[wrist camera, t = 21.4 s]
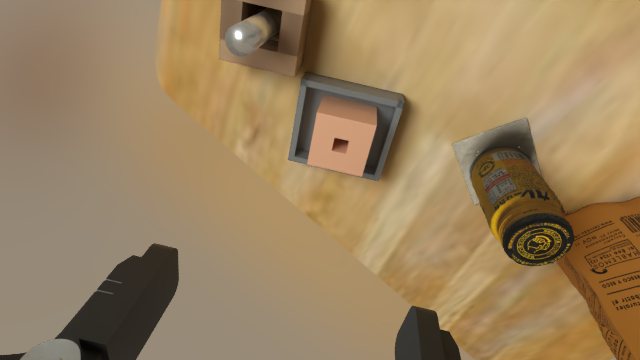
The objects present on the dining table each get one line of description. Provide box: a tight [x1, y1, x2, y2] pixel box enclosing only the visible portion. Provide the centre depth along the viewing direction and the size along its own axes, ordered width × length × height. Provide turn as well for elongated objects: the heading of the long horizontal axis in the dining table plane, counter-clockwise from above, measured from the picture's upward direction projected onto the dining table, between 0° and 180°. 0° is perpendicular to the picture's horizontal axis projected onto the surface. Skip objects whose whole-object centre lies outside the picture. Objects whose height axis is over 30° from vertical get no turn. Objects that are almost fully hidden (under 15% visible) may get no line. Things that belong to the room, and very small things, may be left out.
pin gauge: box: [225, 8, 282, 57], centre depth 30 cm, size 2×2×10 cm
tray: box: [288, 72, 405, 181], centre depth 38 cm, size 10×9×2 cm
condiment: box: [452, 118, 574, 266], centre depth 34 cm, size 7×8×12 cm
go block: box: [219, 0, 312, 77], centre depth 33 cm, size 7×7×4 cm
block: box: [307, 95, 377, 177], centre depth 36 cm, size 6×6×5 cm
